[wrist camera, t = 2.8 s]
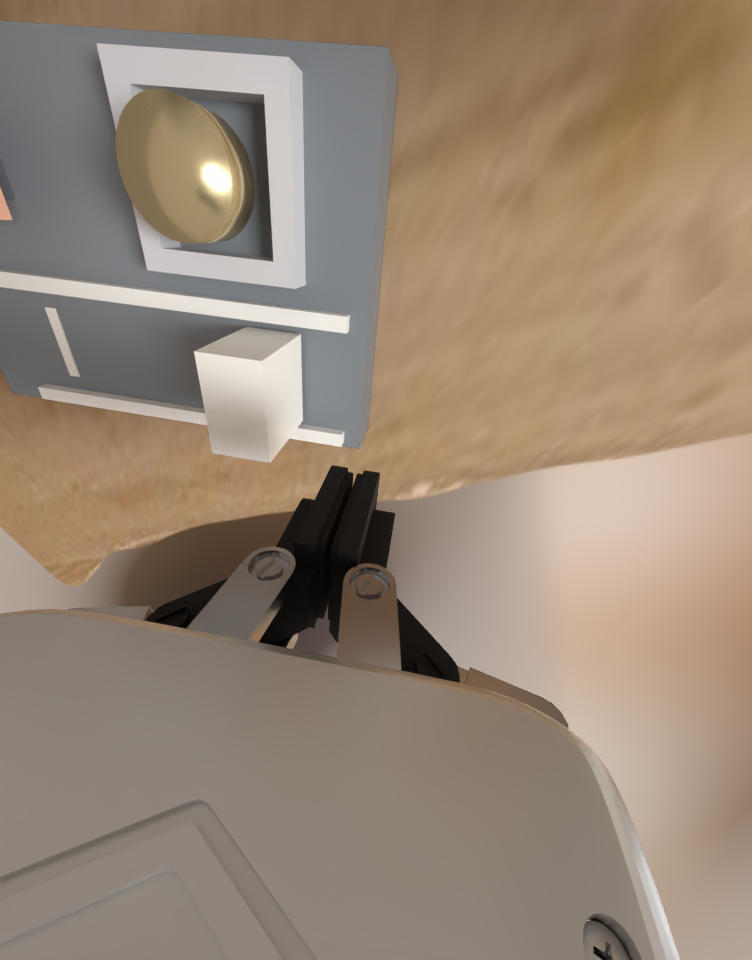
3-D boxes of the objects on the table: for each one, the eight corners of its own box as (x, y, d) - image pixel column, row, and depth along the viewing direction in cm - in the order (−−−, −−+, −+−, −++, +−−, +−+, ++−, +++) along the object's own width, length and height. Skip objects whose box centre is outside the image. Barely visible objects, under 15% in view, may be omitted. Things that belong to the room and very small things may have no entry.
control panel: (398, 75, 16) (382, 28, 13) (367, 428, 26) (354, 461, 22) (-89, 38, 18) (-225, -10, 15) (50, 378, 28) (-11, 401, 24)
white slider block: (300, 334, 20) (261, 361, 16) (302, 420, 23) (270, 462, 18) (246, 326, 20) (193, 351, 16) (255, 413, 23) (212, 453, 19)
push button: (248, 109, 14) (222, 93, 12) (259, 248, 16) (237, 249, 15) (139, 100, 14) (99, 83, 13) (165, 236, 17) (134, 237, 15)
